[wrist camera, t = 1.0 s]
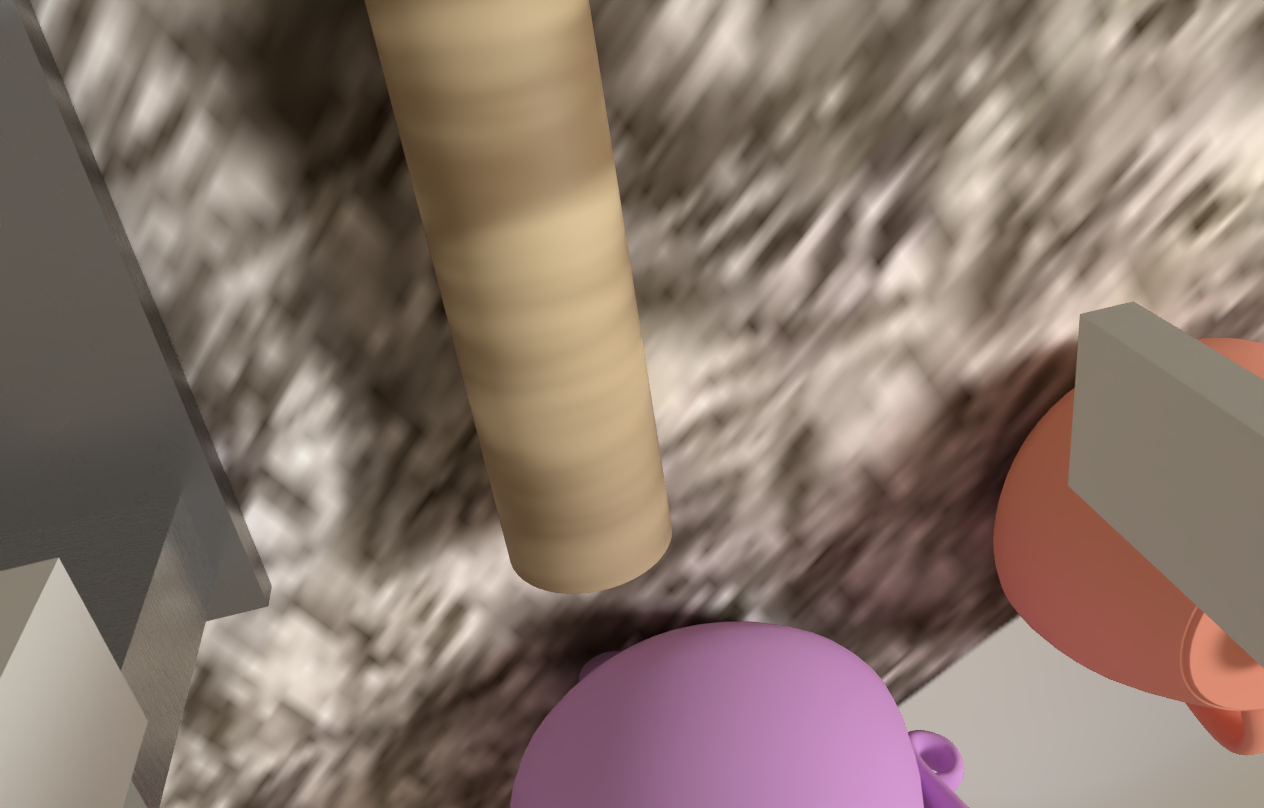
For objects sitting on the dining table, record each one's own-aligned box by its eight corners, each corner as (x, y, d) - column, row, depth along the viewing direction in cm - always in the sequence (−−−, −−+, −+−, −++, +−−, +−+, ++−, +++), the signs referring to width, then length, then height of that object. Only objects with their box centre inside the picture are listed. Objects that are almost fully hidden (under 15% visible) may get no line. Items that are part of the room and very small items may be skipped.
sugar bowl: (1291, 267, 35) (1598, 408, 26) (1251, 580, 42) (1482, 775, 33) (952, 367, 34) (1149, 548, 25) (969, 669, 41) (1128, 895, 32)
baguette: (265, -305, 22) (300, -353, 18) (488, -331, 23) (568, -382, 19) (488, 527, 32) (542, 617, 28) (630, 473, 34) (701, 551, 30)
